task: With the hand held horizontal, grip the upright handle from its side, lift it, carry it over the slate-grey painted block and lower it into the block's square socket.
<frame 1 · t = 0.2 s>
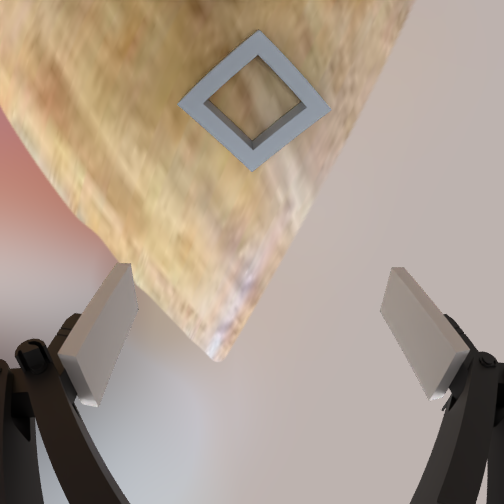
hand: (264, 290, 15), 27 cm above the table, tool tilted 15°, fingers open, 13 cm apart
socket block: (254, 97, 33), on the table
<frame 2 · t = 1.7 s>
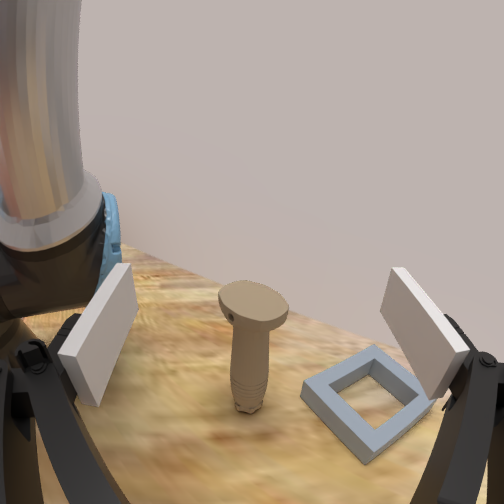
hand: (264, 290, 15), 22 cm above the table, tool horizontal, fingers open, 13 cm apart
handle: (247, 405, 33), on the table
socket block: (368, 406, 32), on the table
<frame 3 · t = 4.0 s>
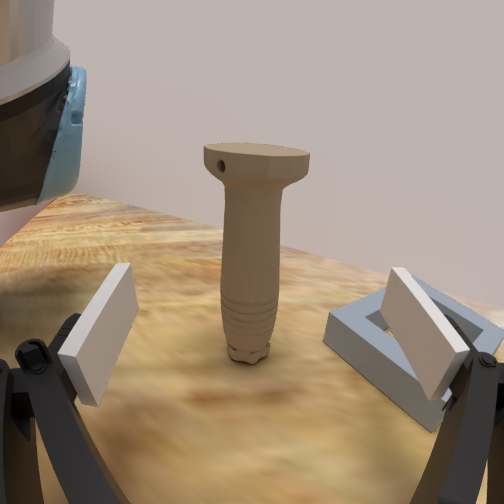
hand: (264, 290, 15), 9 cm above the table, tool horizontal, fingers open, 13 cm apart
handle: (247, 353, 24), on the table
socket block: (417, 352, 23), on the table
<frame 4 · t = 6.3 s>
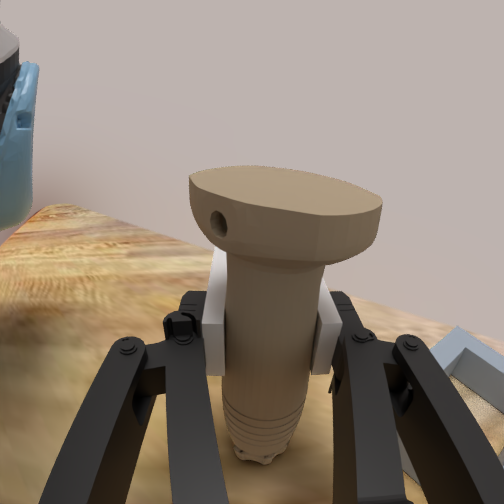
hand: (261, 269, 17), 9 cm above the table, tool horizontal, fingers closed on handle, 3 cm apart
handle: (258, 446, 16), on the table, touching gripper
socket block: (463, 427, 15), on the table
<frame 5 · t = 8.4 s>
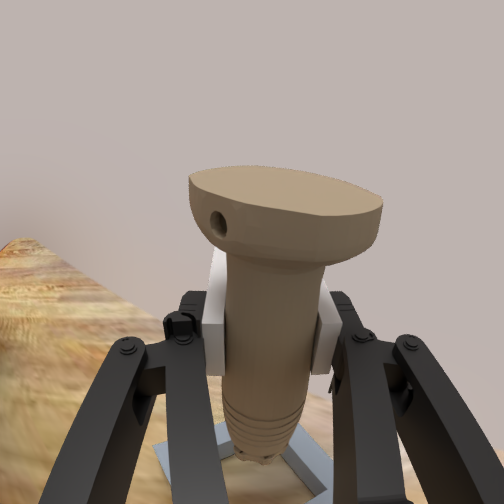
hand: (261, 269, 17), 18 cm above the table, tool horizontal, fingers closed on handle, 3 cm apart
handle: (258, 446, 16), point 9 cm above the table, touching gripper
socket block: (252, 489, 20), on the table
when the fingers open (10 cm above the table, at t = 10.3 s): handle drops 1 cm, resting in socket block.
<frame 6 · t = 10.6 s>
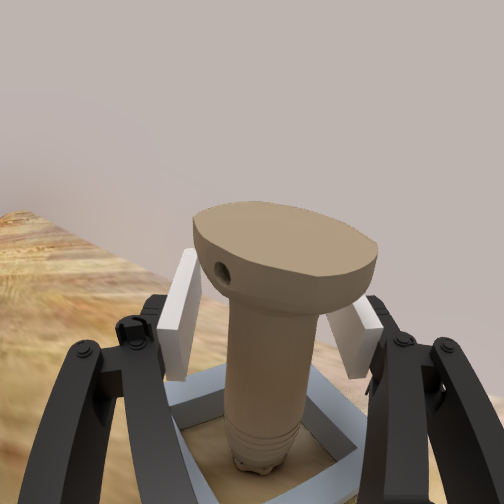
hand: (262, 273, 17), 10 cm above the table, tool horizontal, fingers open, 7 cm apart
handle: (257, 457, 17), resting in socket block
socket block: (257, 455, 17), on the table
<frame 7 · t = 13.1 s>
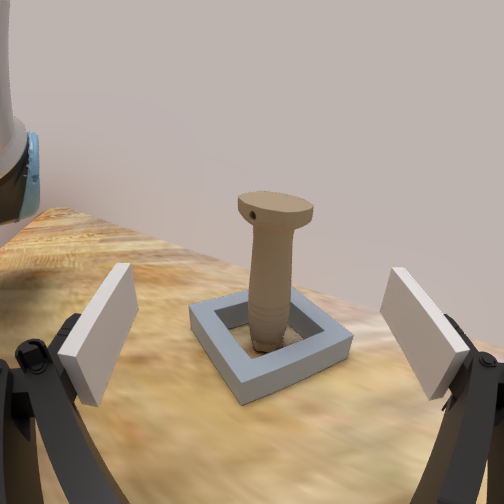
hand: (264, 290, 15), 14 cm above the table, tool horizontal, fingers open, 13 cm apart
handle: (266, 346, 32), resting in socket block
socket block: (266, 344, 31), on the table
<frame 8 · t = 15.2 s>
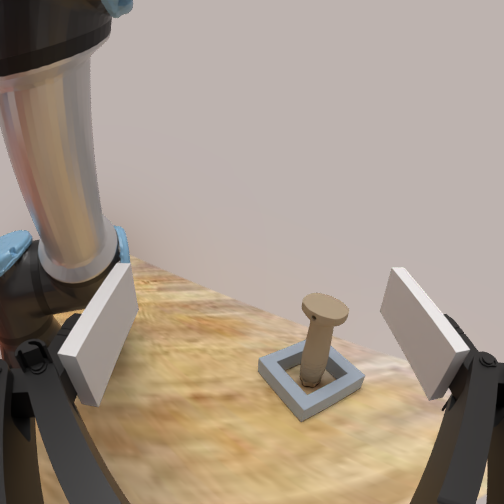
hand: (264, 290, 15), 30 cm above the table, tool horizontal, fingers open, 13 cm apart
handle: (309, 381, 47), resting in socket block
socket block: (309, 380, 47), on the table
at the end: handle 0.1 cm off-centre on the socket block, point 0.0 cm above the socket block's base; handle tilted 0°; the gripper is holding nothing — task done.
